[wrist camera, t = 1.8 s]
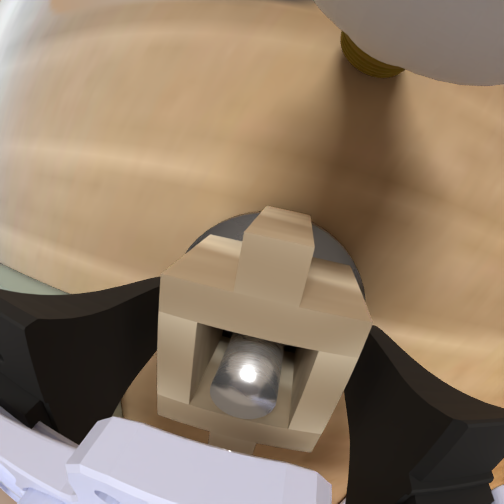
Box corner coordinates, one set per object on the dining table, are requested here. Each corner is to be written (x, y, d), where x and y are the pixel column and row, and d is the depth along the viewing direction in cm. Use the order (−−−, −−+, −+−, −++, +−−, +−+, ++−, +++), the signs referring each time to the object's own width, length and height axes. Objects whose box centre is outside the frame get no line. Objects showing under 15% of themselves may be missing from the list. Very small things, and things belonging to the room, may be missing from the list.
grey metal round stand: (330, 394, 14) (333, 486, 8) (172, 356, 14) (121, 433, 9) (387, 237, 11) (444, 294, 6) (187, 193, 12) (107, 218, 7)
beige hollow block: (303, 399, 13) (298, 473, 9) (193, 373, 14) (158, 437, 10) (360, 227, 11) (393, 266, 7) (216, 195, 11) (166, 215, 7)
